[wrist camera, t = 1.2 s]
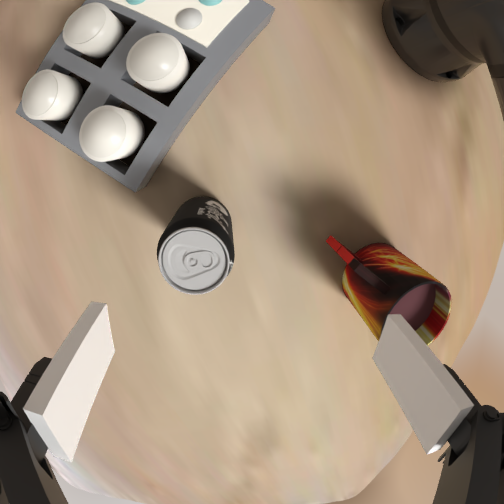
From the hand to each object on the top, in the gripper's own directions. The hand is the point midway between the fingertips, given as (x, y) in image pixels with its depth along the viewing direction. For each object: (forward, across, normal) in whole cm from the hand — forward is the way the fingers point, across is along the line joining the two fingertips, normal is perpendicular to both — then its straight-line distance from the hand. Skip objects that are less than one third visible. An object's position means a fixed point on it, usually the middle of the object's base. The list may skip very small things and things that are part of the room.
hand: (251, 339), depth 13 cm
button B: (+20, -13, +9) cm, 25 cm away
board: (+23, -13, +18) cm, 32 cm away
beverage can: (+24, -4, -1) cm, 24 cm away
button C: (+20, -17, +20) cm, 33 cm away
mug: (+24, +17, -7) cm, 30 cm away
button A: (+20, -9, +16) cm, 27 cm away
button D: (+20, -21, +13) cm, 32 cm away
